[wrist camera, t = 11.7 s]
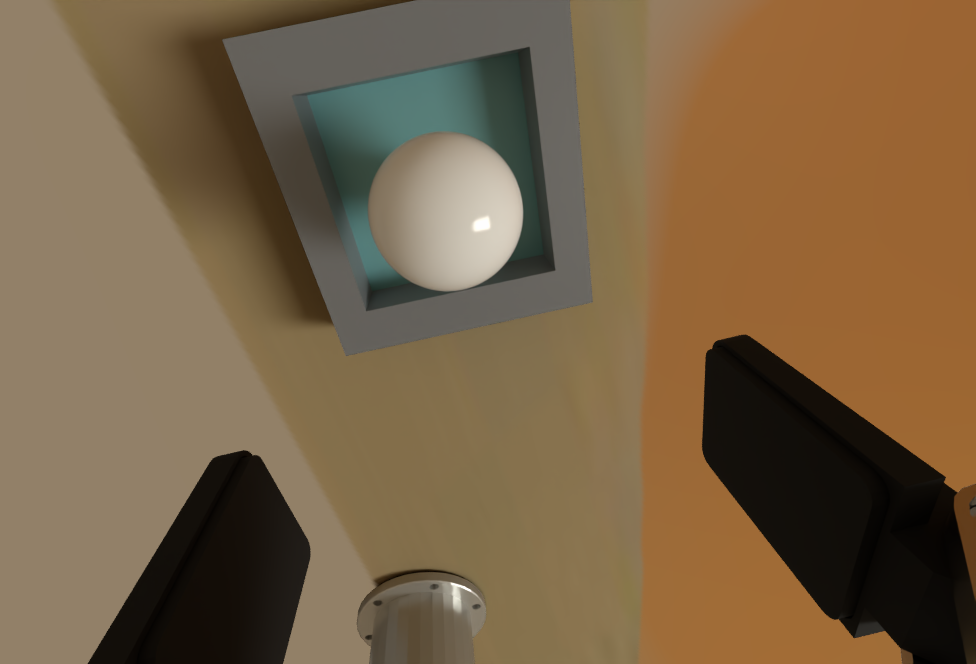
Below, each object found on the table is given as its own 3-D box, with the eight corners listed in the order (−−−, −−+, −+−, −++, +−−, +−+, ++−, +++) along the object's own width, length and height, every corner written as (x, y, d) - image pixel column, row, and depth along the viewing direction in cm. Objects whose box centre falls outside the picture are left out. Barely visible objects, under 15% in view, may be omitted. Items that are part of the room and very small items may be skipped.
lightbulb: (359, 168, 25) (317, 206, 15) (456, 100, 24) (478, 93, 14) (426, 261, 28) (427, 344, 18) (515, 203, 27) (568, 257, 17)
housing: (573, 278, 30) (592, 302, 27) (355, 325, 30) (346, 355, 27) (545, -12, 23) (567, -31, 19) (253, 48, 23) (221, 39, 19)
